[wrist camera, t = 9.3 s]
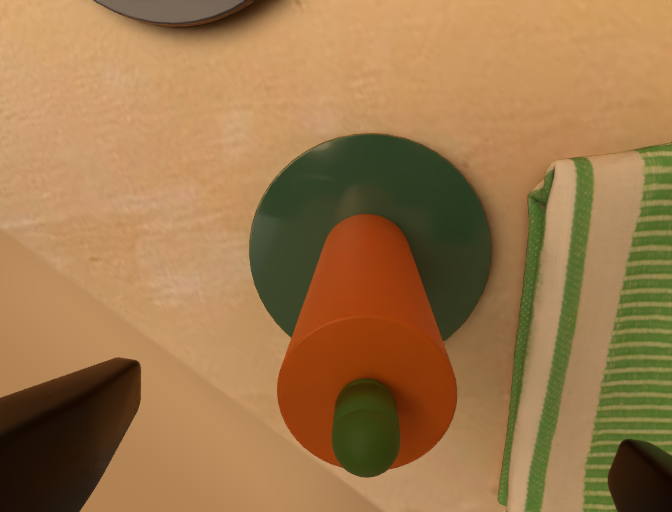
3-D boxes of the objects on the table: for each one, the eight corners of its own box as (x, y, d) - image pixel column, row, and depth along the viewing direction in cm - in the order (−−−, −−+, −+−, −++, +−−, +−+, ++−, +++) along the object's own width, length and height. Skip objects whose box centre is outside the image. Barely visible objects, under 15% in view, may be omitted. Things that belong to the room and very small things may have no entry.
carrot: (372, 313, 19) (381, 583, 8) (305, 262, 19) (213, 472, 7) (428, 250, 18) (529, 453, 7) (359, 195, 18) (346, 319, 6)
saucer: (383, 395, 21) (384, 406, 20) (210, 269, 20) (203, 275, 19) (537, 235, 19) (544, 240, 18) (348, 79, 17) (347, 76, 17)
